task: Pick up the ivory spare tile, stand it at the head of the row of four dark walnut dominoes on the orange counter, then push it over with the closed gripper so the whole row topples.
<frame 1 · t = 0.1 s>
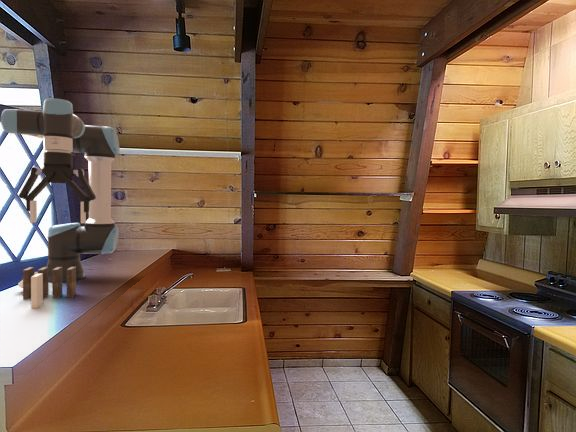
hand: (58, 222, 117), 28 cm above the worktop, fingers open, 13 cm apart
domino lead: (37, 305, 125), on the worktop
domino 3: (43, 296, 135), on the worktop
domino 2: (57, 296, 136), on the worktop
domino 1: (71, 295, 137), on the worktop
seashell: (30, 292, 141), on the worktop
domino 4: (28, 297, 134), on the worktop
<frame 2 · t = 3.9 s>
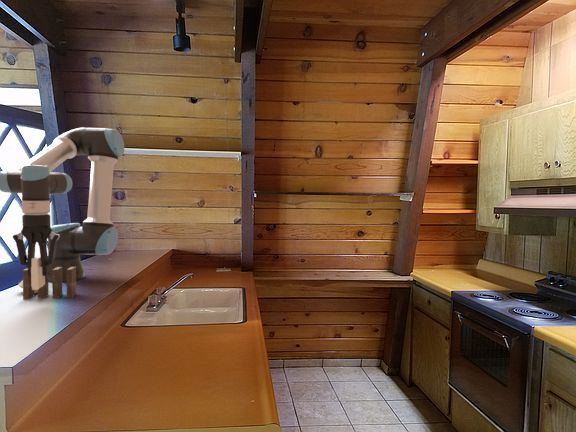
hand: (38, 285, 125), 6 cm above the worktop, fingers closed on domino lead, 2 cm apart
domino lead: (38, 287, 125), point 6 cm above the worktop, touching gripper
everything else where it was.
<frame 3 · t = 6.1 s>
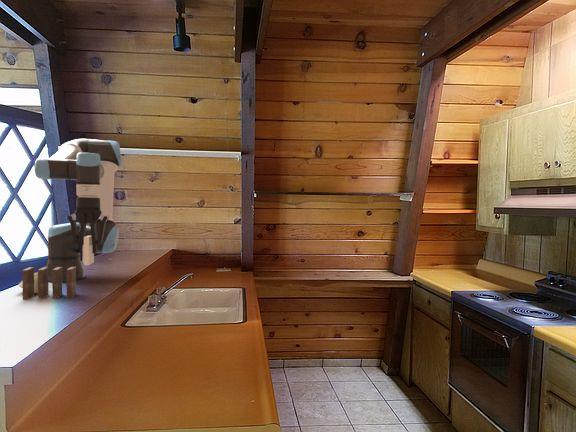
hand: (88, 262, 138), 12 cm above the worktop, fingers closed on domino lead, 2 cm apart
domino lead: (88, 264, 138), point 11 cm above the worktop, touching gripper
when the fingers open (0 cm above the worktop, at t = 8.4 s): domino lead stays where it is, on the worktop.
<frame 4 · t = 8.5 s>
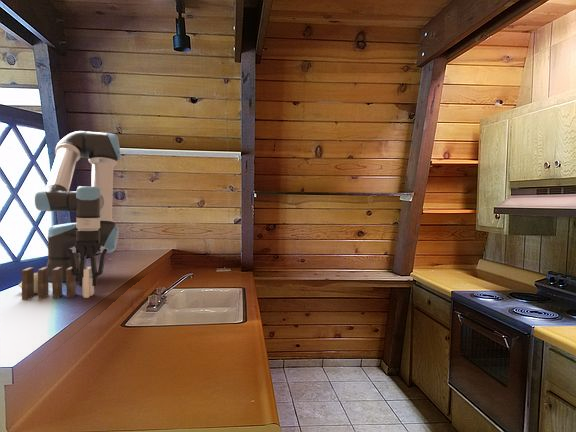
hand: (88, 294, 138), 0 cm above the worktop, fingers closed
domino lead: (88, 295, 138), on the worktop
domino 1: (71, 295, 137), on the worktop, touching hand
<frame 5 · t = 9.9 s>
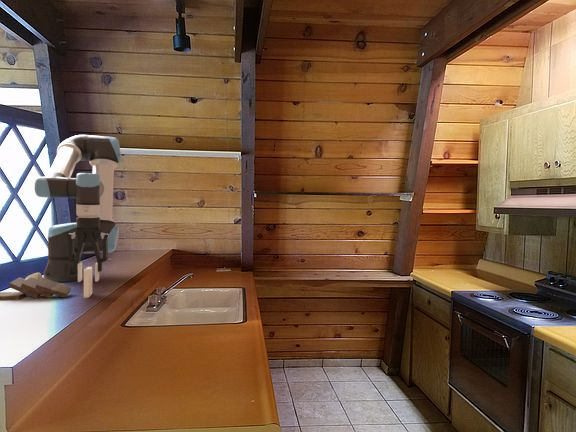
hand: (88, 280, 139), 5 cm above the worktop, fingers open, 5 cm apart
domino 3: (41, 293, 135), point 1 cm above the worktop, tilted 66°, touching domino 2, seashell
domino 2: (54, 292, 136), point 1 cm above the worktop, tilted 67°, touching domino 1, domino 3
domino 1: (68, 292, 137), point 1 cm above the worktop, tilted 69°, touching domino 2
seashell: (31, 292, 140), on the worktop, touching domino 3
domino 4: (22, 296, 133), point 1 cm above the worktop, tilted 90°
everything else where it was.
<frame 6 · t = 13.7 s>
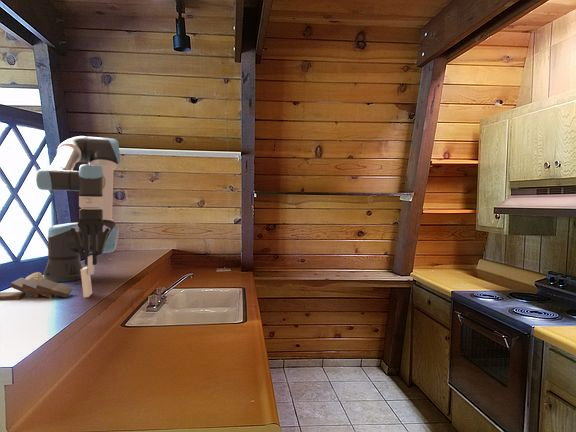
hand: (90, 273, 139), 8 cm above the worktop, fingers closed
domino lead: (88, 295, 138), on the worktop, tilted 6°
domino 3: (42, 293, 135), point 1 cm above the worktop, tilted 68°, touching domino 2
seashell: (31, 292, 141), on the worktop
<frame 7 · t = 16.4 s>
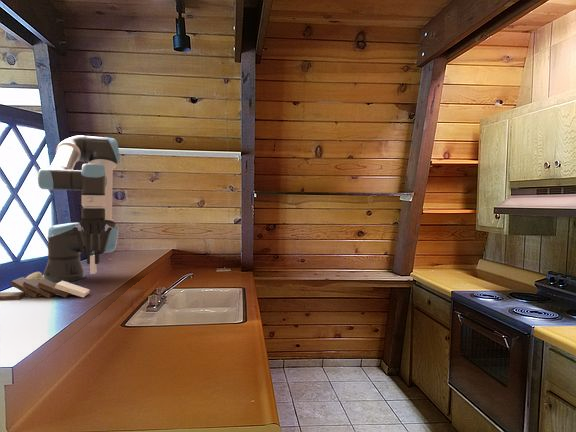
hand: (93, 273, 138), 8 cm above the worktop, fingers closed
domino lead: (86, 293, 138), point 1 cm above the worktop, tilted 70°, touching domino 1
domino 3: (41, 293, 136), point 1 cm above the worktop, tilted 65°, touching domino 2, seashell
domino 2: (54, 294, 136), point 1 cm above the worktop, tilted 65°, touching domino 1, domino 3
domino 1: (69, 293, 137), point 1 cm above the worktop, tilted 66°, touching domino 2, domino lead
seashell: (31, 291, 142), on the worktop, touching domino 3
everything else where it was.
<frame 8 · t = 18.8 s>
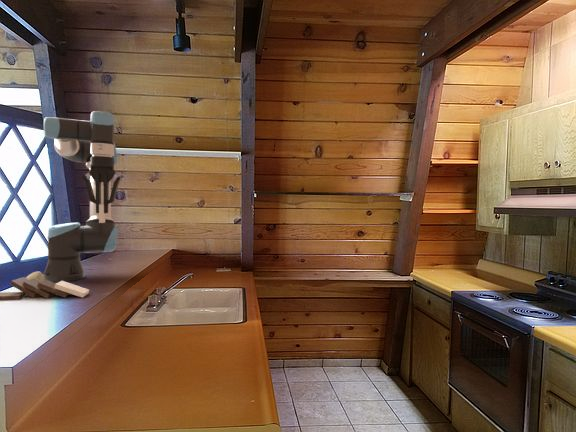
hand: (102, 222, 138), 26 cm above the worktop, fingers closed
domino 2: (53, 294, 136), point 1 cm above the worktop, tilted 66°, touching domino 3
domino 1: (69, 293, 137), point 1 cm above the worktop, tilted 67°, touching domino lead
at the end: domino 4 tilted 90°; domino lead tilted 70°; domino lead inside the target area (0.5 cm from its centre), point 0.7 cm above the worktop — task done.
